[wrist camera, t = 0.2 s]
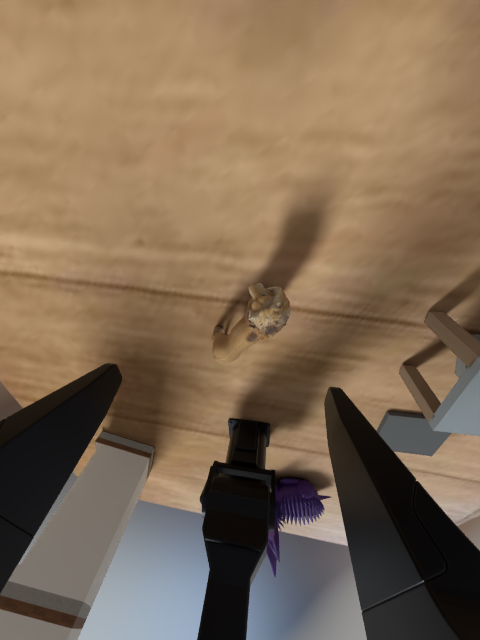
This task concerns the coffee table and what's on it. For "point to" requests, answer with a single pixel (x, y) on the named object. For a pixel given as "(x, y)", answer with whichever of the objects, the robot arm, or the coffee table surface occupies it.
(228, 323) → the coffee table surface
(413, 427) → the mat
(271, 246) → the coffee table surface
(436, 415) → the small grey table
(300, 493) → the creature
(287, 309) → the lion figurine
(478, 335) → the dice cube
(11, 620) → the white square tower
